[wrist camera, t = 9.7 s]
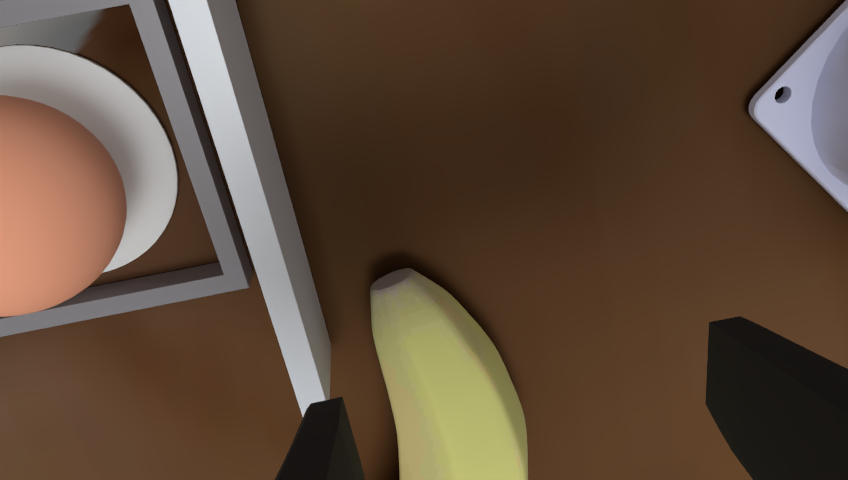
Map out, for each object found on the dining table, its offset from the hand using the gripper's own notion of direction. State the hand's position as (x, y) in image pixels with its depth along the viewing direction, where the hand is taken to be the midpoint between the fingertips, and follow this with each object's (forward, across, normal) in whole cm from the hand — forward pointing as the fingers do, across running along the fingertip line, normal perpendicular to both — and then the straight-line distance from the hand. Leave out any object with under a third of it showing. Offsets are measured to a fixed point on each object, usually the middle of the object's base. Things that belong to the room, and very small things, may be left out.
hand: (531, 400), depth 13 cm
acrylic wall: (+9, +6, -4) cm, 12 cm away
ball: (+6, +12, -4) cm, 14 cm away
